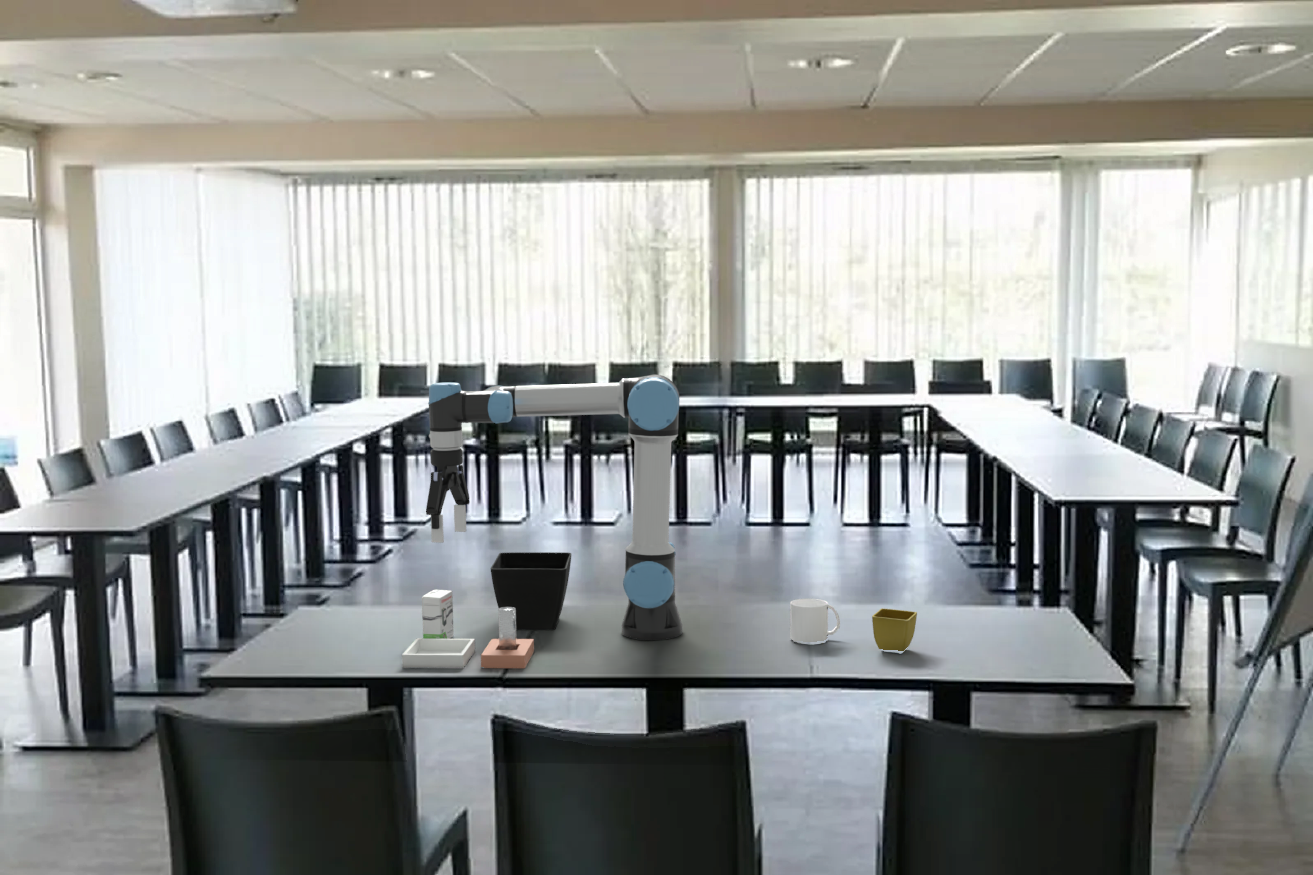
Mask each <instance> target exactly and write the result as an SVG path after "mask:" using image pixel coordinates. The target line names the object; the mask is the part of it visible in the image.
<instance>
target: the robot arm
mask: <svg viewBox="0 0 1313 875" xmlns="http://www.w3.org/2000/svg"><path fill="white" fill-rule="evenodd" d="M427 404H428V414H429V415H428V417H429V434H428V438H429V440H430V441H429V442H430V447H431V448H432V449H431V450H430V465H431V466H434V467H436V468H437V469H436V471H431V472H430V482H429V483H430V484H429V488H428V489H429V490H428V496H427V502H426V507H425V514H426V515H427V516H430V530H431V532H430V533H431V534H430V536H431V543H438V544H439V543H440V544H441V543H442V544H443V543H444V539H445V538H444V515H443V514H442V510H443V508H444V507H443V506H444V503H445V499H446V496H447V492H449V491H450V492H451V495H452V498H453V500H454V502H455V504H453V511H454V512H453V516H454V518H453V520H454V532H457V533H458V532H460V533H466V532H467V514H466V511H467V510H466V509H467V508H466V505H470V494H469V491H468V487H467V486H468V485H467V483H466V482H467V481H466V478H465V474H464V473H465V472H464V465H463V463H464V456H463V449H462V448H461V447H463V444H464V443H463V424H464V423H465V424H471V423H473V424H477V423H478V424H481V423H482V424H494V423H495V424H501V423H509V422H511V420H512V419H513V418H515V417H517V418H518V417H548V416H549V417H550V416H582V415H583V416H585V415H586V416H588V415H593V416H594V415H620V416H621V417H623V418H628V432H627V433H628V436H629V437H630V438H631V439H632V440H633V441H634V451H633V452H634V455H633V496H632V497H633V499H632V538H631V539H632V540H631V542H630V543H629V544H628V545H627V546H626V547H625V564H624V565H625V566H624V576H623V577H624V578H623V581H622V582H623V583H622V584H623V590H624V592H625V595H626V596H627V598H628V603H627V605H626V609H625V614H624V615H623V618H622V619H623V620H622V622H621V634H622V635H623V636H624V637H626V638H629V639H631V640H632V639H633V640H639V641H640V640H641V641H662V640H669V639H670V640H671V639H673V638H677V637H680V636H681V635H682V634H683V621H682V619H681V616H680V613H679V610H678V606H677V603H676V550H675V545H674V543H673V542H670V541H669V537H670V500H671V498H670V496H671V467H672V466H671V465H672V464H671V463H672V456H671V455H672V442H673V441H674V440H675V439H676V438H677V437H678V436H679V412H680V411H679V410H680V392H679V390H678V387H677V386H676V384H675V383H674V381H672V380H671V378H668V377H667V376H664V375H661V374H650V375H644V376H638V377H629V378H628V377H627V378H621V380H619V382H602V383H601V382H600V383H597V382H596V383H576V384H575V383H573V384H572V383H569V384H568V383H567V384H537V385H516V386H514V385H513V386H512V385H509V386H508V385H507V386H504V385H491V386H489V387H487V388H486V389H484V390H473V391H471V390H470V391H468V390H462V388H461V384H460V383H459V382H435V383H434V382H433V383H432V384H431V385H430V386H429V388H428V403H427Z"/></svg>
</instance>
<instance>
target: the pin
mask: <svg viewBox="0 0 1313 875" xmlns="http://www.w3.org/2000/svg"><path fill="white" fill-rule="evenodd" d="M497 611H498V612H497V613H498V639H499V650H517V645H516V639H517V630H516V608H514V607H502V608H498V610H497Z"/></svg>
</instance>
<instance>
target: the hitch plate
mask: <svg viewBox="0 0 1313 875" xmlns="http://www.w3.org/2000/svg"><path fill="white" fill-rule="evenodd" d="M534 640H535V639H534V638H516V645H517V650H499V638H491V639H490V641H489V642H488V644H487V646H486V647H485V648H484V649H483V652H482V653H481V655H480V668H481V667H484V668H483V669H526V667H527V665H528V663H529V662H530V660H531V658H532V657H533V654H534V652H535V641H534Z"/></svg>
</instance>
